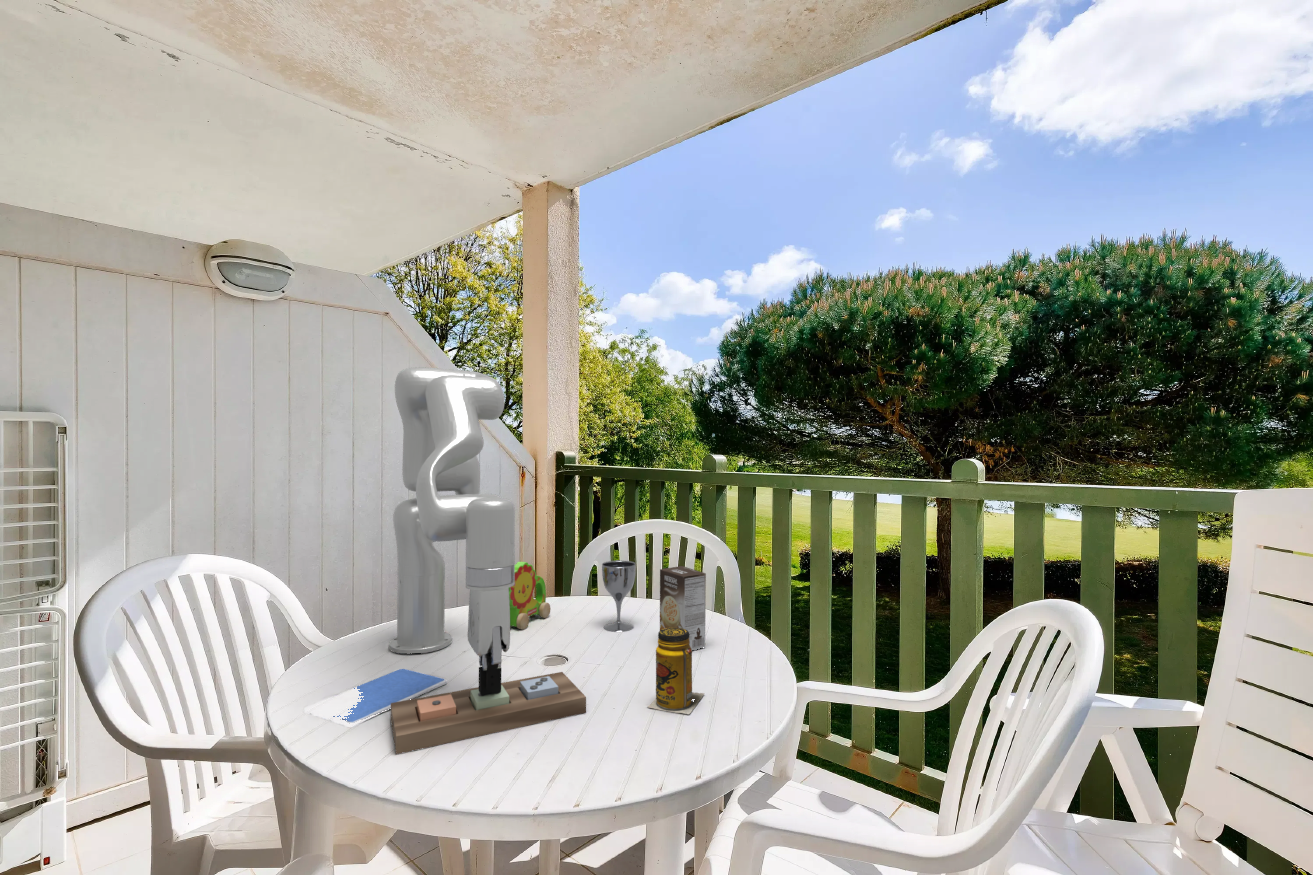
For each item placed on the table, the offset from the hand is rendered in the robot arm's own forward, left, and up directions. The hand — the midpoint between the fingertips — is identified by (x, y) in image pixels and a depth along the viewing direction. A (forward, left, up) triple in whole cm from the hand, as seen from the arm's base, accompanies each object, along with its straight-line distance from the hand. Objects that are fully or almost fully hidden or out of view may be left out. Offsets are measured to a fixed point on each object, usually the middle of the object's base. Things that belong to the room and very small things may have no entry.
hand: (489, 691), depth 94 cm
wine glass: (-33, +37, -4) cm, 50 cm away
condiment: (+9, +29, -4) cm, 31 cm away
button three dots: (0, +8, -3) cm, 9 cm away
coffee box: (-15, +44, -4) cm, 47 cm away
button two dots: (0, 0, -3) cm, 3 cm away
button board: (0, 0, -4) cm, 4 cm away
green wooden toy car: (-46, +18, -4) cm, 50 cm away
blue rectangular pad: (-16, -15, -5) cm, 23 cm away
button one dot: (0, -8, -3) cm, 9 cm away
